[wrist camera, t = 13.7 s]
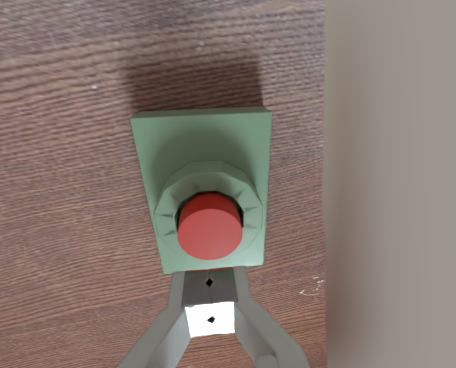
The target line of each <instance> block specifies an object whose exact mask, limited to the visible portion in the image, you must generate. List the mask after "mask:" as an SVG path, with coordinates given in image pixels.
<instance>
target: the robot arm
mask: <svg viewBox="0 0 456 368" xmlns="http://www.w3.org/2000/svg"><path fill="white" fill-rule="evenodd" d="M222 333H234V334H235V335H236V337H237V338H238V340H239V341H240V343H241V344H242V346H243V347H244V349H245V350H246V352H247V353H248V355H249V356H250V358H251V359H252V361H253V362H254V364H255V368H310V366H309V363H308V360H307V358H306V355H305V352H304V349H303V348H302V347H301V346H300V345H299V344H298V343H297V342H296V341H295V340H294V339H293V338H292V337H291V336H290V335H289V334H288V332H287V331H286V330H285V329H284V328H283V327H282V326H281V325H280V324H279V323H278V322H277V321H276V320H275V319H274V318H273V317H272V316H271V315H270V314H269V313H268V312H267V311H266V310H265V309H264V308H263V307H262V306H261V305H260V304H259V303H258V301H257V300H252V296H251V291H250V286H249V281H248V277H247V272H246V267H245V266H244V265H243V266H233V267H232V266H231V267H222V268H212V269H203V270H188V271H176V272H173V273H172V276H171V282H170V288H169V295H168V301H167V307H166V309H163V310H162V311H161V312H160V313H159V314H158V316H157V317H156V318H155V319H154V321H153V322H152V323H151V324H150V326H149V327H148V328H147V329H146V331H145V332H144V333H143V334H142V336H141V337H140V338H139V339H138V341H137V342H136V343H135V344H134V346H133V347H132V348H131V349H130V351H129V352H128V353H127V354H126V356H125V357H124V358H123V359H122V361H121V362H120V363H119V364H118V366H117V367H116V368H176V366H177V364H178V362H179V361H180V359H181V357H182V355H183V353H184V351H185V349H186V347H187V346H188V344H189V342H190V340H191V337H197V336H204V335H211V334H222Z"/></svg>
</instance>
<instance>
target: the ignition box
mask: <svg viewBox="0 0 456 368" xmlns="http://www.w3.org/2000/svg"><path fill="white" fill-rule="evenodd" d="M130 123H131V127H132V132H133V136H134V141H135V146H136V150H137V155H138V159H139V164H140V169H141V173H142V178H143V182H144V187H145V192H146V196H147V201H148V205H149V210H150V215H151V219H152V224H153V228H154V233H155V237H156V242H157V247H158V251H159V256H160V260H161V265H162V270H163V274H170V273H173V272H176V271H188V270H203V269H212V268H222V267H231V266H232V267H233V266H243V265H244V266H245V267H246V266H257V265H263V264H264V247H265V230H266V212H267V195H268V177H269V160H270V142H271V124H272V111H270V110H269V109H267V108H265V107H264V106H256V107H232V108H209V109H186V110H163V111H140V112H138V113H137V114H135V115H134V116H132V117H131V118H130ZM203 193H217V194H221V195H224V196H226V197H227V198H229V199H230V200H231V201H232V202H233V203H234V204H235V206H236V207H237V210H238V214H239V218H240V222H241V226H242V232H243V234H242V239H241V242H240V244H239V246H238V247H237V248H236V249H235V250H234V251H233V252H232V253H231V254H229V255H227V256H225V257H223V258H220V259H215V260H202V259H198V258H195V257H192V256H191V255H189V254H187V253H186V252H185V251H184V250H183V249H182V247H181V246H180V244H179V242H178V237H177V233H178V226H179V220H180V214H181V211H182V208H183V207H184V205H185V204H186V203H187V202H188V201H189V200H190V199H191V198H193V197H195V196H197V195H199V194H203Z"/></svg>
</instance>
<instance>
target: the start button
mask: <svg viewBox="0 0 456 368" xmlns="http://www.w3.org/2000/svg"><path fill="white" fill-rule="evenodd" d="M242 234H243V232H242V226H241V222H240V218H239V214H238V210H237V207H236V206H235V204H234V203H233V202H232V201H231V200H230V199H229V198H227V197H226V196H224V195H221V194H217V193H203V194H199V195H197V196H195V197H193V198H191V199H190V200H189V201H188V202H187V203H186V204H185V205H184V207H183V208H182V211H181V214H180V220H179V226H178V233H177V237H178V242H179V244H180V246H181V247H182V249H183V250H184V251H185V252H186V253H187V254H189V255H191V256H192V257H195V258H198V259H202V260H215V259H220V258H223V257H225V256H227V255H229V254H231V253H232V252H233V251H234V250H235V249H236V248H237V247H238V246H239V244H240V242H241V239H242Z"/></svg>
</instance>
